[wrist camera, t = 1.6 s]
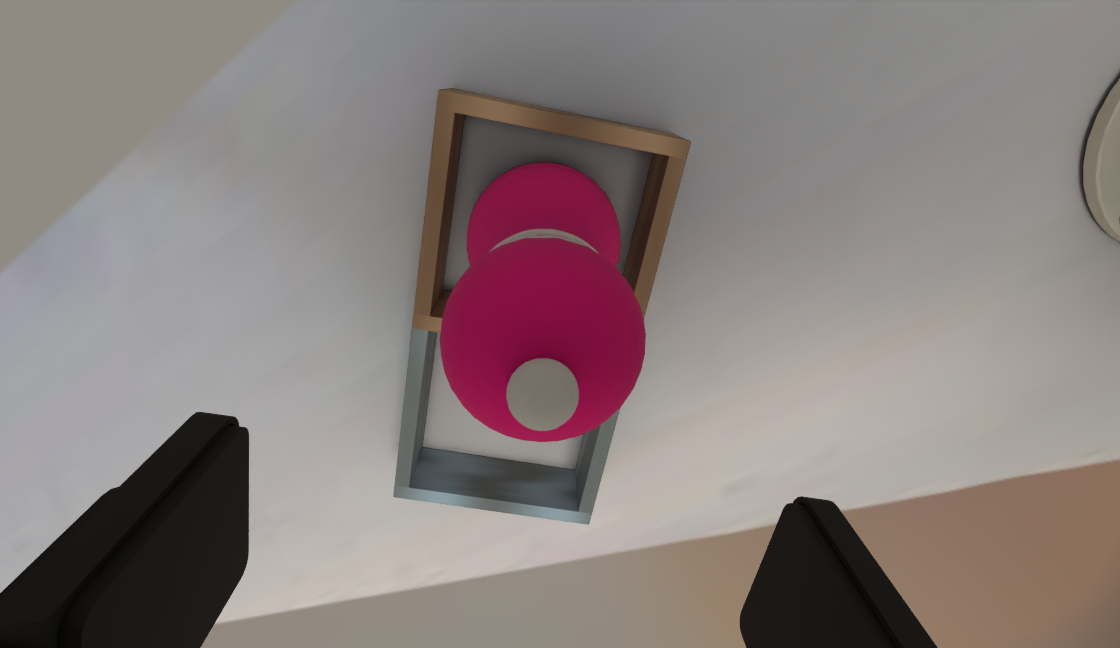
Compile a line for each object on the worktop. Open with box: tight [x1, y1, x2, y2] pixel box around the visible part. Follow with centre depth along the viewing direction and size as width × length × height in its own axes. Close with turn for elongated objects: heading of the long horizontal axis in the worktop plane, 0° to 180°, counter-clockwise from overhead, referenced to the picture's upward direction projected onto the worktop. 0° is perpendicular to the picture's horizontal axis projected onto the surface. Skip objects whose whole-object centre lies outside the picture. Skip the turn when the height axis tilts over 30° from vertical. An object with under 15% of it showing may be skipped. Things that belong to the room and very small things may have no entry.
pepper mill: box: [440, 162, 646, 442], centre depth 23 cm, size 7×7×20 cm
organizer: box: [393, 88, 691, 525], centre depth 32 cm, size 11×22×4 cm, turn 169°
